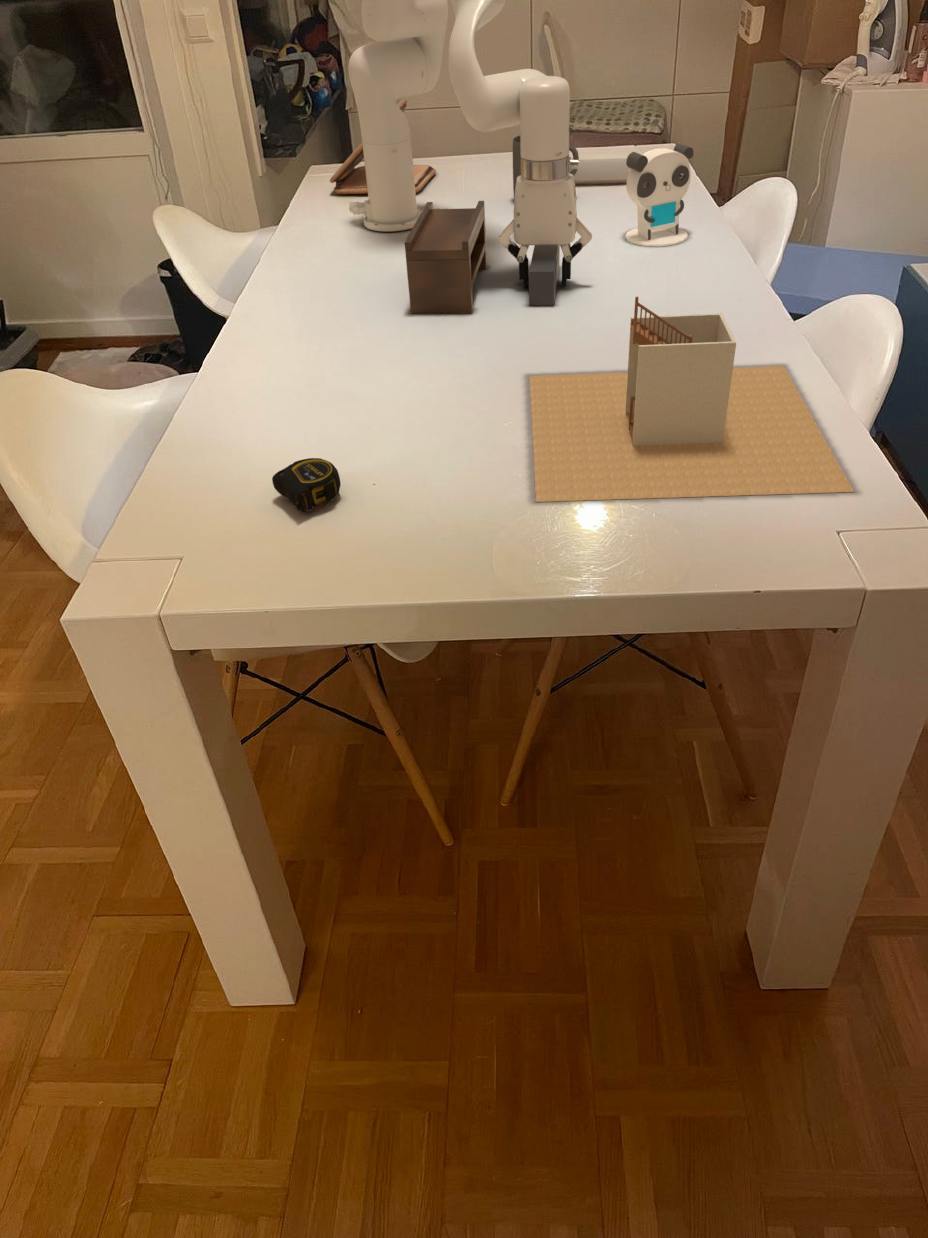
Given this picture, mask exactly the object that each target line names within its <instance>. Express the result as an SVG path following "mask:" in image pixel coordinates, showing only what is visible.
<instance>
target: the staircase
mask: <svg viewBox="0 0 928 1238" xmlns="http://www.w3.org/2000/svg"><path fill="white" fill-rule="evenodd" d="M639 308H640V314H639V316H638V313H639ZM643 311H644V316H643ZM647 314H649V316H647ZM629 325H630V326H629V341H628V343H629V344H628V360H627V375H626V392H625V409H624V413H625V414H628V429H629V431H630V435H631V444H632V445H633V446H645V445H673V444H679V445H680V444H701V443H706V444H708V443H723V442H724V438H725V430H726V423H727V416H728V408H729V401H730V394H731V386H732V379H733V371H734V368H735V367H734V364H735V356H736V348H737V341H736V339H735V337H734V334H733V332H732V331H731V328H730V326H729V325H728V322H727V320H726V318H725V316H724V314H723V312H720V313H719V312H718V313H699V314H698V313H697V314H695V313H694V314H676V315H675V314H674V315H673V314H672V315H658V314H656V313H655V312H653V311H652V310H650V309H649V308H648V307H645V306H644V305H643V304H641V303H640V302H639V296H635V298H634V313H633V316H632V317H630V323H629Z"/></svg>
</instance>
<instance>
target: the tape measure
mask: <svg viewBox="0 0 928 1238" xmlns="http://www.w3.org/2000/svg"><path fill="white" fill-rule="evenodd" d="M339 473H340V472H339V471H338V469H337V467H335V465H334V464H333V463H332V462H331V461H328V460H326V459H323V458H319V457H311V458H310V457H308V458H303V459H299V460H296V461H294V462H293V463H291V464H289V465H288V466H286V467H284V468H283V469H281V470H278V471H277V472H275V474H273V475H272V478H271V480H272V481H271V482H272V486H273V488H274V489H275V491H276V492H277V493H278V494H280V495H281V497H284V498H285V499H287V500H288V501H289V502H290V503H291V504H292V505H293V506H294V507H295V508H296V510H297V511H300V512H301V513H308V512H310V511H312V510H313V509H314V508H316V507H321V506H324V505H327V504H329V503H330V502H332V501H333V500H334V499H335V498H336V497H337V496H338V495H339V493H340V490H341V489H340V488H341V486H342V484H341V478H340V474H339Z"/></svg>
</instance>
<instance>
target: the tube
mask: <svg viewBox="0 0 928 1238" xmlns="http://www.w3.org/2000/svg"><path fill="white" fill-rule="evenodd" d="M626 161H627V157H625V158H589V159H587V158H586V159H579V164H578V169H577V172H576V174H575V175H574V182H575V185H603V184H604V185H605V184H608V185H609V184H627V179H628V175H629V173H630V170H631V168H629V167H627V165H626ZM569 173H570V172H569Z"/></svg>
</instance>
